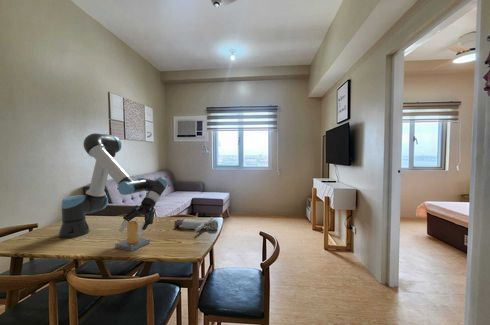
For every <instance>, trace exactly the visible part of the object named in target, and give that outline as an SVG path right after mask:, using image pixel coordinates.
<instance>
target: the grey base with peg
mask: <svg viewBox="0 0 490 325" xmlns="http://www.w3.org/2000/svg"><path fill="white" fill-rule="evenodd" d="M150 243H151V240H150V239H149V238H145V237H141V236H138V242H136V243H127V238H126V239H124V240H122V241H119V242H115V243H114V248H116V249H121V250H124V251H129V252H133V251H136V250H137V249H139V248H142V247H144V246H146V245H148V244H150Z"/></svg>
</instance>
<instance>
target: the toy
mask: <svg viewBox="0 0 490 325" xmlns="http://www.w3.org/2000/svg"><path fill="white" fill-rule="evenodd" d="M173 227H174V229H177V228H178V227H181V229H184V230H194V233H197V232H200V231H201V229H204V228H206V229H208V230H212V231H217V230H218V229H219V222H218V220H216V219H214V217H213V216H211V217H209V218H208V219H206V220H198V219H197V220H196V219H189V218H185V219H177V220H175V221H174V226H173Z"/></svg>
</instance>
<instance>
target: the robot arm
mask: <svg viewBox="0 0 490 325" xmlns="http://www.w3.org/2000/svg"><path fill="white" fill-rule="evenodd" d="M83 148H84V151H85V152H86V153H87V155H88V156H89V157H90V158H93V159H95V164H94V166H93V167H94V168H93V173H92V177H91V181H90V185H89V188H88V189H87V190H86V191H85V194H76V195H70V196H68V197H65V198H63V199H62V200H61V220H62V221H61V225H60V229H59V231H58V237H59V239H61V238H62V239H70V238H77V237H81V236H84V235H86V234H89V232H90V227H89V224H88V223H87V219H86V215H88V214H92V213H96V212H99V211H102V210H104V209H105V208H106V207H107V206H108V205H109V198H108V195H107V193H106V191H105V189H106V185H107V181H108V176H109V177H110V178H112V179H113V181H114V182H115V183H116V184H117V185H118V186H117V189H118V193H119V194H120V195H123V196H127V195H132V194H136V193H140V192H141V193H142V192H147V193H146V194H145V196H144V198H143V199H142V201H141V202H140V206H139V205H138V204H136V205H135V206H134V207H133V208H132V209H131V210H130V211H128V213H126V214H125V215H124V216H123V217H122V219H123V222H122V224H121V225H120V227H119V228H118V230H117V231H118V232H119V233H121V234H123V232H124V231H125V229H127V224H128V223H129V222H130V221H133V219H135V218H136V217H138V216H142V215H143V216H144V222H142V224H141V226H140V228H138V232H137V235H138V237H141V236H142V235H143V233H144V232H145V231H146V230H147V227H148V226H149V225H153V224H154V219H155V218H154V217H155V213H156V211H157V210H156V209H155V206H156V204H157V203H158V201H159V200H160V198H161V197H162V194H163V193H164V191H165V190H166V188H167V187H168V183H169V182H168V181H167V180H166V178H164V177H157V178H156V180H155V179H149V178H145V177H138V178H136V179H133V178H132V177H130V175H129V174H128V173H127V171H125V169H123V167H121V165H120V164H119V163H118V162H117V161H116V160H115V157H116V154H117V153H119V152H120V151H121V149H122V141H121V140H120V138H119V137H118V136H116V135H113V134H112V135H111V134H107V133H106V134H103V133H94V132H93V133H90V134H89V135H87V136H86V137H85V138H84V140H83Z"/></svg>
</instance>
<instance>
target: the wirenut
mask: <svg viewBox="0 0 490 325" xmlns="http://www.w3.org/2000/svg"><path fill="white" fill-rule="evenodd" d="M138 230H139V223H138V222H137V221H136V220H130V221H129V223H128V224H127V227H126V236H127V238H126V239H127V243H136V242H138V237H139V236H138V235H137V232H138Z"/></svg>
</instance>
